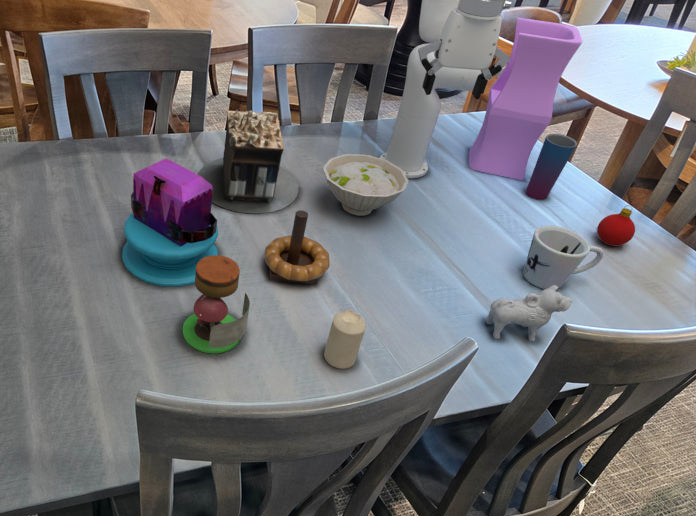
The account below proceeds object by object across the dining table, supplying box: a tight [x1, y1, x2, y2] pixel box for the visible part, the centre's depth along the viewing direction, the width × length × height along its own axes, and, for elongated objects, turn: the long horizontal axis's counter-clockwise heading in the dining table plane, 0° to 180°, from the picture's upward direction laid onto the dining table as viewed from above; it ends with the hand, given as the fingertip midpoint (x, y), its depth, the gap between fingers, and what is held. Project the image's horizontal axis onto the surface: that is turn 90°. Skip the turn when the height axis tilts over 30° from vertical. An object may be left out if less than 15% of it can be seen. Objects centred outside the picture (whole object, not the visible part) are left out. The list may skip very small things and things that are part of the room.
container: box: [468, 17, 583, 181], centre depth 158 cm, size 14×14×35 cm
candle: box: [323, 309, 367, 370], centre depth 108 cm, size 6×6×10 cm
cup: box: [525, 133, 578, 201], centre depth 153 cm, size 7×7×15 cm
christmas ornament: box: [596, 204, 636, 247], centre depth 140 cm, size 7×7×10 cm
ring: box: [264, 234, 331, 281], centre depth 127 cm, size 13×13×3 cm
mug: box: [522, 225, 604, 290], centre depth 128 cm, size 10×15×10 cm
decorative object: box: [121, 157, 219, 287], centre depth 124 cm, size 20×20×20 cm
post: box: [269, 209, 316, 285], centre depth 125 cm, size 9×9×14 cm
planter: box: [196, 109, 299, 214], centre depth 148 cm, size 25×25×19 cm
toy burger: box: [182, 254, 251, 354], centre depth 109 cm, size 12×13×15 cm
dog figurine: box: [485, 285, 573, 342], centre depth 115 cm, size 5×13×11 cm, turn 89°
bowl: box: [322, 153, 410, 216], centre depth 146 cm, size 19×19×10 cm
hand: (451, 94), depth 126 cm, fingers open, 9 cm apart
